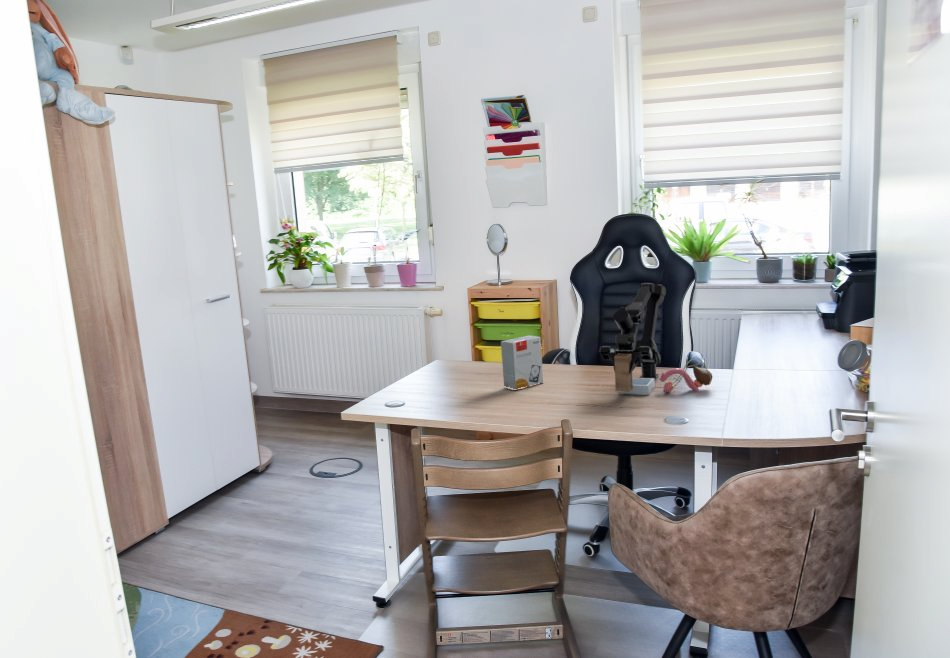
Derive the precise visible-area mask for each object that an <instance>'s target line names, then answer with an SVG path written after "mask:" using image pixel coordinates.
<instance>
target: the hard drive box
mask: <svg viewBox="0 0 950 658" xmlns="http://www.w3.org/2000/svg"><path fill="white" fill-rule="evenodd" d="M541 339H542V338H541V336H538V335H537V336H535V335H524V336H520V337H515V338H511V339H506V340H502V341H500V350H501V362H502V363H501V364H502V374H503V376H502V377H503V387H504V386H506V387H510V388H513V389H518V388H521V387H526V386H530V385H534V384H538V383H542V382H543V383H544V374H543V357H542V344H541V343H542V341H541Z"/></svg>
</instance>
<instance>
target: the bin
mask: <svg viewBox="0 0 950 658" xmlns="http://www.w3.org/2000/svg"><path fill="white" fill-rule="evenodd" d="M655 384H656V383H655V379H654V378H639V377H632V385H633V388H632V389H631V390H630V391H629V392H624V391H619V392H620V395H638V396H639V395H641V396H642V395H643V396H645V395H646V396H649V395H650V394H651V393H652V391H653V390H654V389H655V386H656V385H655Z"/></svg>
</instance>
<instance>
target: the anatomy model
mask: <svg viewBox="0 0 950 658" xmlns="http://www.w3.org/2000/svg"><path fill="white" fill-rule="evenodd" d="M693 359H698V360H699V361H698V363H697V364H692V365H688V364H689V363H690V362H691V361H693ZM700 364H701V365H702V367H704V368H702V367H700V366H699V365H700ZM687 365H688V366H687ZM688 368H692V372H693V375H694V378H695V379H694V380H693V379H692V377H691V376H690V374H689V373H688V372H687V370H688ZM677 374H678V375H679V376H678V375H677ZM673 375H675V376H676V377H675V376H673ZM671 376H673V379H675V380H674V382H672V381H668V382H665V381H667V379H668V378H669V377H671ZM682 379H684V381H685V384H686V385H687V386H688V388H689V389H691V390H695V392H697V393H698V394H699V393H701V390H700V389H699V388H702V387H703V386H710V385H711V383H712V380H713V374H712V373H711V371H710V370H708V368H707V366H706V364H705V362H704V361H702V360H701V358H700V357H698V356H697V355H696V356H693V357H692V358H691V359H690V360H688V361H687V363H686V364H685V365H684V367H683V368H677V367H676V368H671V369H668V370H667V371H666V372H664V371H662V373H661V375H660V377H659V380H660V382H662V383H664V382H665V383H664V384H663V390H664V393H666V394H669V393H671V392H672V391H673V390H674V388H675V387H676V386H677V385H678V384H679V383H681V381H682Z"/></svg>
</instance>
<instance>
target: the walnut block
mask: <svg viewBox="0 0 950 658" xmlns="http://www.w3.org/2000/svg"><path fill="white" fill-rule="evenodd" d="M614 359H615V372H614V377H615V378H614V380H615V383H614V384H615V392H620V391H624V392H629V391H630V390H631V389H632V388H633V385H632V378H633V372H632V373H629V369H630V364H631V360H632V354H620V353H618V354H617V355H616V356H615V357H614Z"/></svg>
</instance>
